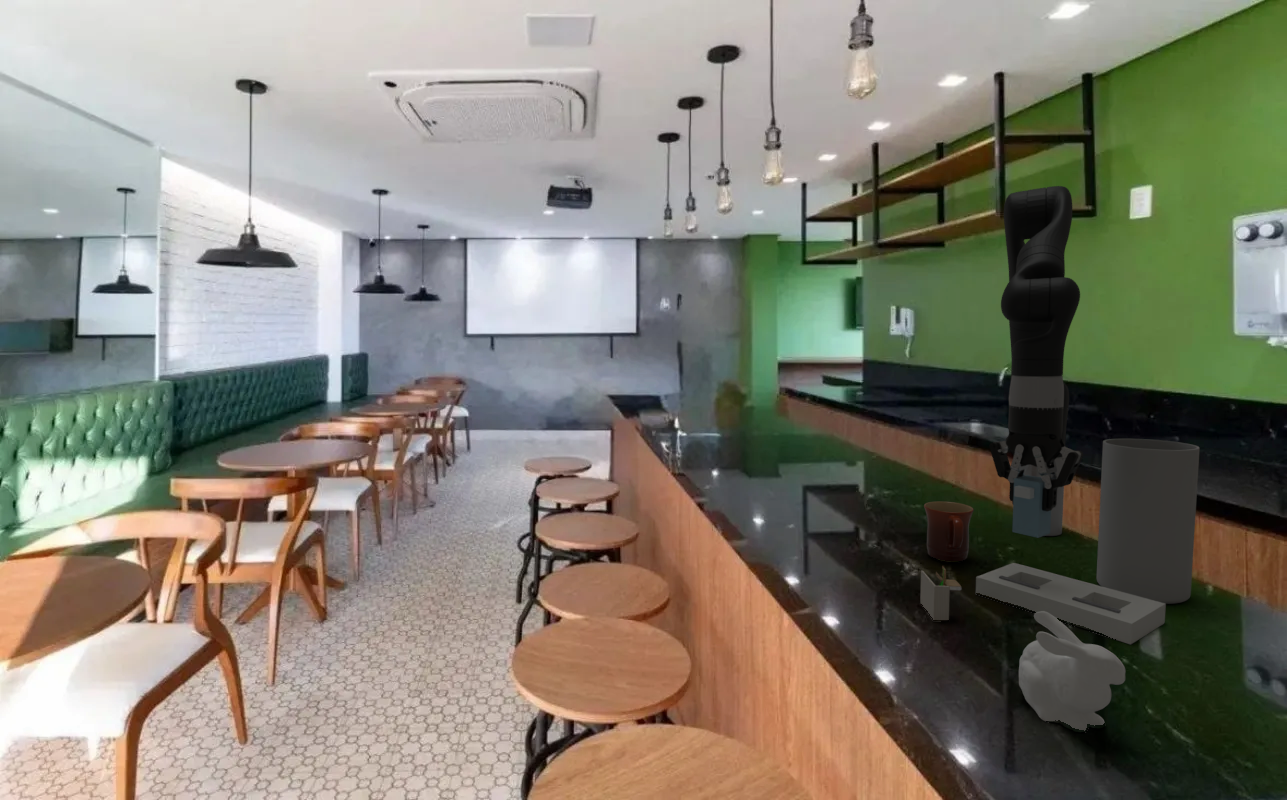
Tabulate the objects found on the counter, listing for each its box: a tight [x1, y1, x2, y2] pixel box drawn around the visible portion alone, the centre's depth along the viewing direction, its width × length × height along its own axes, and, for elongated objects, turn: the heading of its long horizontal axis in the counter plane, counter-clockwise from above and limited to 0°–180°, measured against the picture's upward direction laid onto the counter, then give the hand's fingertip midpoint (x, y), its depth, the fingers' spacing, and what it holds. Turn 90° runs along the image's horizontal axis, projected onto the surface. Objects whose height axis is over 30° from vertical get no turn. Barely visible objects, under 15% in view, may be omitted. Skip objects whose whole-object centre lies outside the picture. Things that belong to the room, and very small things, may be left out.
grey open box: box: [919, 565, 962, 621], centre depth 100 cm, size 4×7×8 cm, turn 172°
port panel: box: [975, 562, 1167, 645], centre depth 101 cm, size 12×22×3 cm, turn 33°
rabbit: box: [1018, 611, 1126, 731], centre depth 73 cm, size 12×9×12 cm
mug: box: [923, 501, 974, 562], centre depth 123 cm, size 12×9×10 cm
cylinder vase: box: [1096, 438, 1200, 605], centre depth 106 cm, size 12×12×25 cm
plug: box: [1011, 475, 1051, 539], centre depth 104 cm, size 5×4×9 cm
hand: (1031, 506), depth 104 cm, fingers closed on plug, 4 cm apart
